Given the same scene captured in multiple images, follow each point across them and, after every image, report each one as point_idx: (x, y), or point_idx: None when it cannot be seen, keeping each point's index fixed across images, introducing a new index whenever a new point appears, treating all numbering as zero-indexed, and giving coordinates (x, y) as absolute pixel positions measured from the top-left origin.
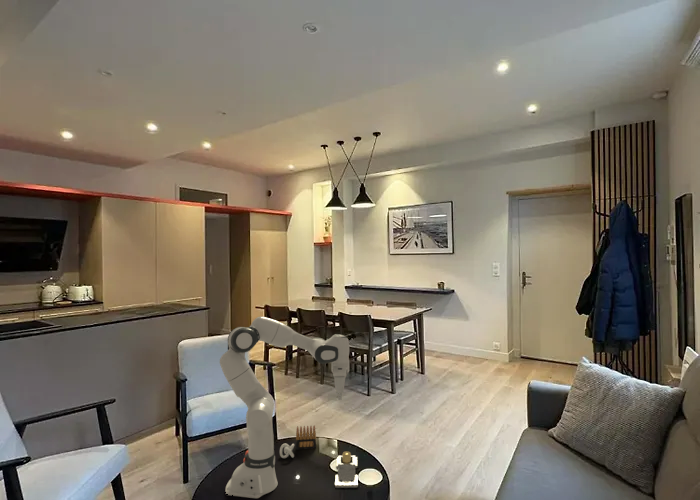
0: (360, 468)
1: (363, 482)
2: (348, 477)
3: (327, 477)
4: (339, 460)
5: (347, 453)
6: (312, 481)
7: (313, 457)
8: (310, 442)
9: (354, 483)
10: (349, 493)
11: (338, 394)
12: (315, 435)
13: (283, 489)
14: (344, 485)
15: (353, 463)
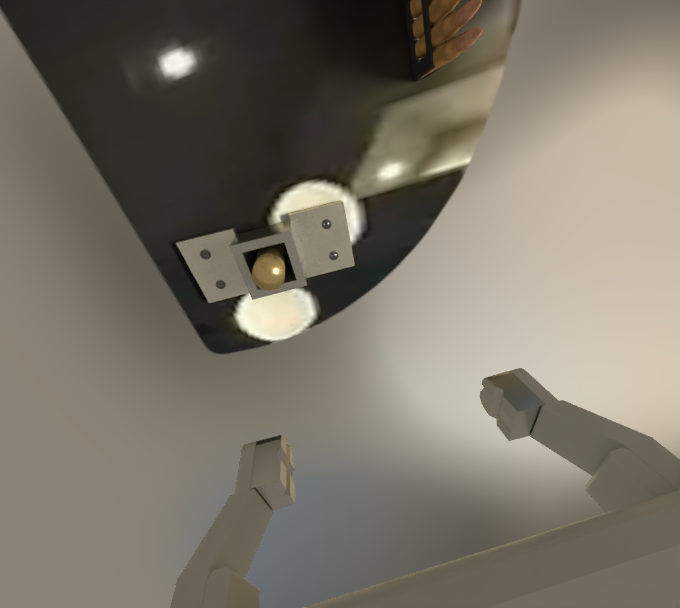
0: None
1: (241, 306)
2: (234, 270)
3: (223, 198)
4: (257, 244)
5: (270, 278)
6: (175, 147)
7: (340, 93)
8: (423, 39)
9: (211, 293)
10: (173, 286)
11: (204, 550)
12: (444, 61)
13: (47, 17)
14: (191, 269)
15: (255, 293)
